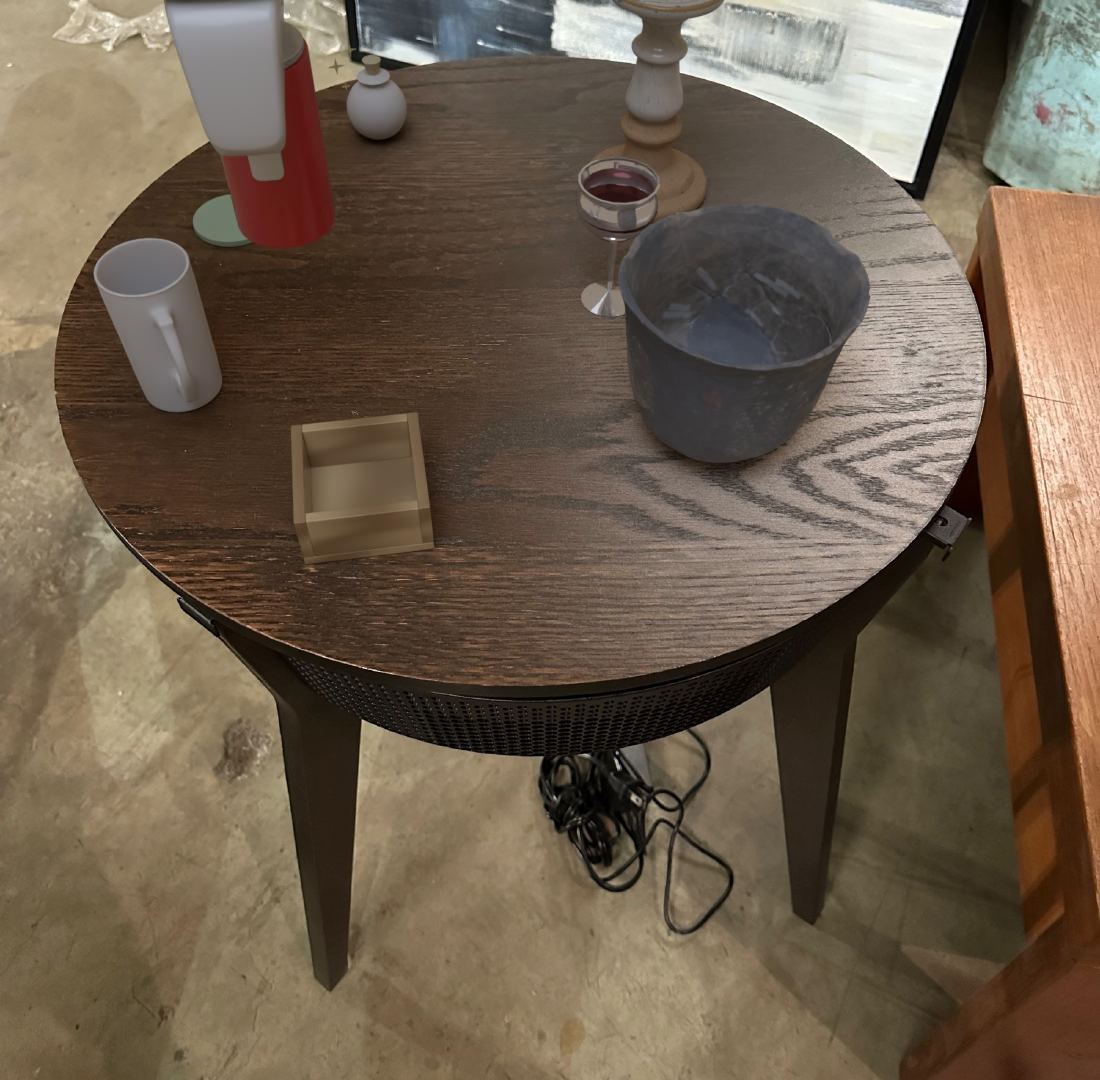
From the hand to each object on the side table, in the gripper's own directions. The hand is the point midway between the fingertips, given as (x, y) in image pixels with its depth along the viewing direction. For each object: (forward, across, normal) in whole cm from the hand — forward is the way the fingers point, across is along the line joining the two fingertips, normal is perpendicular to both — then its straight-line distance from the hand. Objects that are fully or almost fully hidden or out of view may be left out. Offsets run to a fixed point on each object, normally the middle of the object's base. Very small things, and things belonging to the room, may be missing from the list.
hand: (269, 138), depth 62 cm
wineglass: (+25, -13, +25) cm, 38 cm away
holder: (+25, +9, +2) cm, 27 cm away
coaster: (+25, -28, -8) cm, 39 cm away
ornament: (+25, -41, +6) cm, 49 cm away
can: (+6, 0, 0) cm, 6 cm away
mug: (+25, -5, -11) cm, 28 cm away
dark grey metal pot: (+25, +4, +30) cm, 40 cm away
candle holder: (+25, -29, +32) cm, 50 cm away
